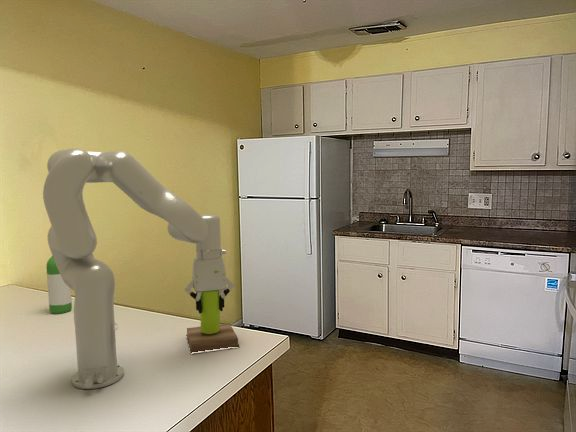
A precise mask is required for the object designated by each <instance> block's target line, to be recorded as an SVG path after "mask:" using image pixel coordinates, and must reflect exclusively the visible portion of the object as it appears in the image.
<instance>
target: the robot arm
mask: <svg viewBox="0 0 576 432" xmlns="http://www.w3.org/2000/svg"><path fill="white" fill-rule="evenodd" d="M47 160H48V161H47V163H46V167H47V171H48V174H47V175H46V178H45V181H44V185H43V189H42V190H43V191H42V198H43V199H42V200H43V204H44V207H45V210H46V214H47V216H48V220H49V222H50V228H48V232H47V244H48V247H49V250H50V253H51V256H52V255H53V258H54V260H55V263H56V265H57V268H58V270H59V273H60V275H61V277H62V279H63V281H64V283H65V284H66V285H67V286H68V287H69V288H71V290H73V291H74V302H73V319H74V320H73V321H74V331H75V333H74V334H75V347H76V348H75V349H76V360H77V362H76V363H77V372H76V373H75V374H74V375H72V377H71V383H72V385H73V387H76V388H77V389H81V390H83V389H84V390H92V389H94V390H96V389H100V388H103V387H106V386H107V387H108V386H110V385H112V384H114V383H116V382H118V381H120V380H121V379H122V377H124V373H125V371H124V370H125V369H124V367H123V366H121V365H120V364H118V358H117V356H118V355H117V341H116V340H117V339H116V331H115V309H114V308H115V307H114V306H115V305H114V304H115V303H114V299H115V290H116V279H115V275H114V272H113V270H112V269H111V267H110V266H109V265H108V264H106V263H104V262H102V261H101V260H98V259H96V258H95V256H94V252H95V250H96V249H97V244H98V241H97V239H98V238H97V234H96V232H95V230H94V228H93V225H92V223H91V220H90V217H89V214H88V211H87V209H86V205H85V203H84V198H83V191H84V188H85V185H86V184H87V183H89V184H90V183H91V184H92V183H95V184H96V183H113V184H114V185H115V186H116V187H118V189H119V190H121V191H122V192H123V193H124V194H125V195H126V196H127V197H129V198H130V199H131V200H132V201H133V203H135V204H137V205H136V206H138V207H139V208H141V209H142V210H144V211H146V212H147V213H149V214H152V215H154V216H156V217H158V218H161V219H163V221H166V222H167V223H168V224H167V232H168V234H169V236H171V237H172V238H173V239H175V240H177V241H180V242H185V243H190V244H195V247H196V248H195V253H196V254H195V255H196V256H195V257H196V258H194V259H193V264H192V276H191V277H192V279H191V281H190V282H189V283H188V284H187V285H186V286H185V287H184V291H185V293H187V294H188V295H189V296H190V297H191V298H193V299H194V300H195V311H198V314H199V315H201V313H202V309H201V300H200V297H201V294H202V292H207V291H217V290H218V291H219V312H224V311H223V310H224V309H223V308H225V298H226V297H227V296H228V294H229V293H230V292H231V290H233V289H234V288H235V284H234V283H233V281H231V280H229V279H228V278H227V275H226V274H227V272H226V264H225V260H224V257H222V256H223V255H226V253H227V252H226V249H223V248H222V245H221V244H222V243H221V238H222V237H221V218H220V216H219V215H217V214H213V213H209V214H208V213H203V214H199V213H198V212H197V210H195V208H193V207H192V206H191V205H190V204H189V203H187V202H186V201H184V200H183V199H182V198H181V197H179V196H178V195H177V194H175V193H174V192H173V191H171V190H170V189H168V188H166V187H165V186H164V185H163V184H162V183H160V181H158V180H157V178H155V177H154V176H153V175H152V174H151V173H150V172H149V171H148V170H147V169H146V168H145V167H144V166H143V164H141V163H140V162H139V161H138V160H137V159H136V158H135V157H134V156H133V155H131V153H128V152H126V151H123V150H113V151H86V150H84V149H81V148H67V149H61V150H57V151H55V152H54V153H52V154H51V155H50V156H49V158H48V159H47ZM214 271H220V272H219V273H214ZM192 288H193V290H194V291H195V292H194V291H193V290H191V289H192Z"/></svg>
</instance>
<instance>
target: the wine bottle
mask: <svg viewBox="0 0 576 432" xmlns="http://www.w3.org/2000/svg"><path fill="white" fill-rule="evenodd" d="M45 266H46V279H47V281H46V282H47V294H48V304H49V305H48V306H49V311H50V314H51V313H52V314H56V315H59V314H65V313H67V312H70V311H71V310H72V308H73V304H72V291H71V290H72V289H71V288H69V287H68V286H67V285H66V284H65V283H64V281H63V279H62V277H61V275H60V273H59V270H58V268H57V265H56V263H55V260H54V258H53V255H52V254H51V257H50V258H49V259H48V260H47V262H46V265H45Z"/></svg>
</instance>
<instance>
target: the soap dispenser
mask: <svg viewBox="0 0 576 432" xmlns="http://www.w3.org/2000/svg"><path fill="white" fill-rule="evenodd" d="M219 272H220V271H214V273H219ZM219 295H220V294H219V291H218V290H217V291H207V292H202V294H201V297H200V300H201V309H202V313H200V327H201V332H202V333H205V334H213V333H217V332H219V330H220V324H221V323H220V318H221V316H220V312H221V311H220V309H219Z"/></svg>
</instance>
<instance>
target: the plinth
mask: <svg viewBox="0 0 576 432" xmlns="http://www.w3.org/2000/svg"><path fill="white" fill-rule="evenodd" d="M185 335H186V336H187V338H186V341H187V340H188V342H187V345H188V344H189V346H188V349H189V348H190V349H189V352H190V351H191V353H192V352H198V351H205V350H213V349H220V348H228V347H239V348H240V344H239V337H238V336H237V334H236V332H235V330H234V329H233V327H232V325H231V323H230V322H227V323H226V322H225V323H220V330H219V332H217V333H213V334H205V333H202V332H201V326H193V327H187V328H186V334H185ZM191 353H190V354H191Z"/></svg>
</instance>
